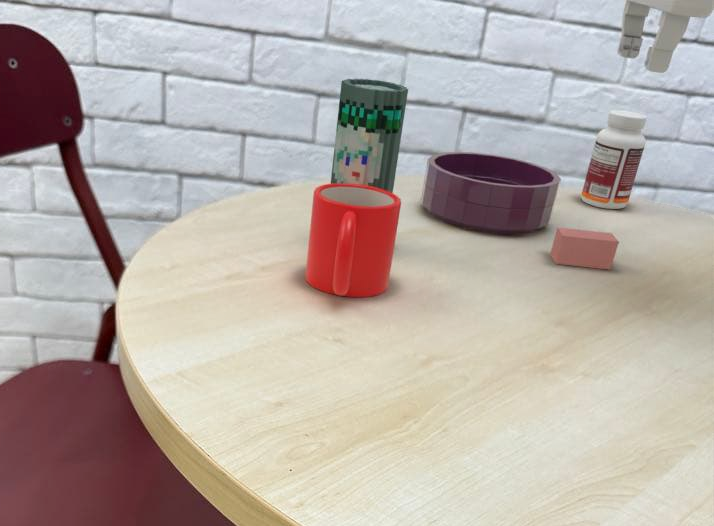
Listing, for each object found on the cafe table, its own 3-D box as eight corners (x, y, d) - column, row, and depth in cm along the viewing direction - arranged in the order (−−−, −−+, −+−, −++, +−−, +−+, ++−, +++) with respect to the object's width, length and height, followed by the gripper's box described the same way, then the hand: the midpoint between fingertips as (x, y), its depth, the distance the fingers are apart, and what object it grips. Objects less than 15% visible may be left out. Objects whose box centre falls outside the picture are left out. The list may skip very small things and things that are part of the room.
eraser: (603, 260, 93) (611, 233, 92) (610, 269, 91) (619, 241, 89) (549, 254, 93) (557, 227, 91) (555, 263, 91) (563, 235, 89)
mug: (295, 307, 74) (304, 214, 69) (309, 262, 83) (318, 178, 79) (385, 318, 74) (400, 226, 69) (388, 272, 83) (402, 189, 79)
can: (317, 244, 88) (334, 83, 79) (337, 229, 93) (355, 76, 84) (372, 256, 87) (395, 94, 78) (390, 241, 91) (414, 86, 82)
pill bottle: (617, 199, 117) (644, 111, 110) (632, 212, 112) (661, 121, 105) (574, 195, 116) (598, 106, 110) (587, 207, 111) (613, 116, 105)
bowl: (535, 205, 110) (546, 160, 106) (559, 243, 97) (573, 193, 94) (415, 192, 109) (423, 146, 106) (425, 228, 97) (434, 177, 93)
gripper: (779, -118, 64) (710, 85, 73) (690, -112, 81) (642, 53, 89) (698, -129, 64) (637, 76, 72) (625, -120, 81) (583, 46, 89)
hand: (639, 63), depth 81 cm, fingers open, 8 cm apart
